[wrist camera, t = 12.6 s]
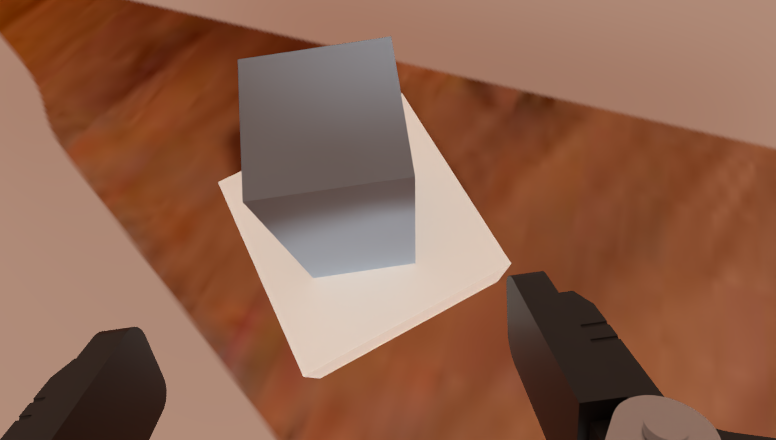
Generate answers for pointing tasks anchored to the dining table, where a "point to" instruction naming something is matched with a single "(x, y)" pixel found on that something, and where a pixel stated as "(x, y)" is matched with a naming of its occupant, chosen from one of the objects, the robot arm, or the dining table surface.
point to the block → (329, 155)
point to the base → (378, 286)
